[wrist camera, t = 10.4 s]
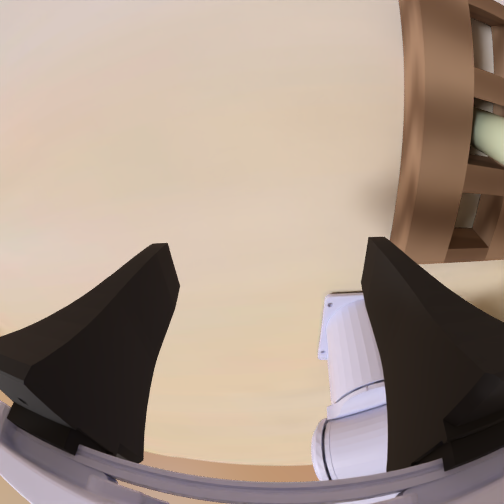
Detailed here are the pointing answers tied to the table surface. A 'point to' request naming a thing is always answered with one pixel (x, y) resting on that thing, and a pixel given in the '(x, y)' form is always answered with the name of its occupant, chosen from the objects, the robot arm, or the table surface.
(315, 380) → the table surface
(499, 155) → the sage peg
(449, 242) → the hole block
